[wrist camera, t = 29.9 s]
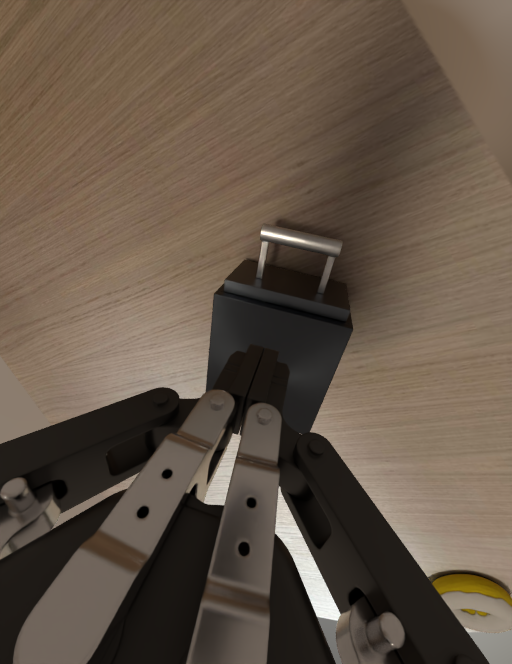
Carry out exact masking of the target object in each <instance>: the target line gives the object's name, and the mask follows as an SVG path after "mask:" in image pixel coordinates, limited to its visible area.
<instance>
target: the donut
mask: <svg viewBox="0 0 512 664" xmlns="http://www.w3.org/2000/svg"><path fill="white" fill-rule="evenodd" d="M432 584H433V586H434V587H435V589H436V590H437V591H438V593H439V594H440V595H441V597H442V598H443V600H444V601H445V602H446V604H447V605H448V606H449V608H450V609H451V611H452V612H453V613H454V615H455V616H456V618H457V619H458V620H459V622H460V623H461V624H462V626H463V627H466V628H469V629H472V630H476V631H481V632H486V633H500V632H505V631H508V630H511V629H512V598H511V597H510V595H509V594H508V593H507V592H506V591H505V590H504V589H503V588H502V587H501V586H499V585H498V584H496V583H494V582H492V581H490V580H488V579H485V578H483V577H479V576H476V575H470V574H452V575H446V576H443V577H440V578H438V579H436V580H435V581H434V582H433V583H432Z"/></svg>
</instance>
